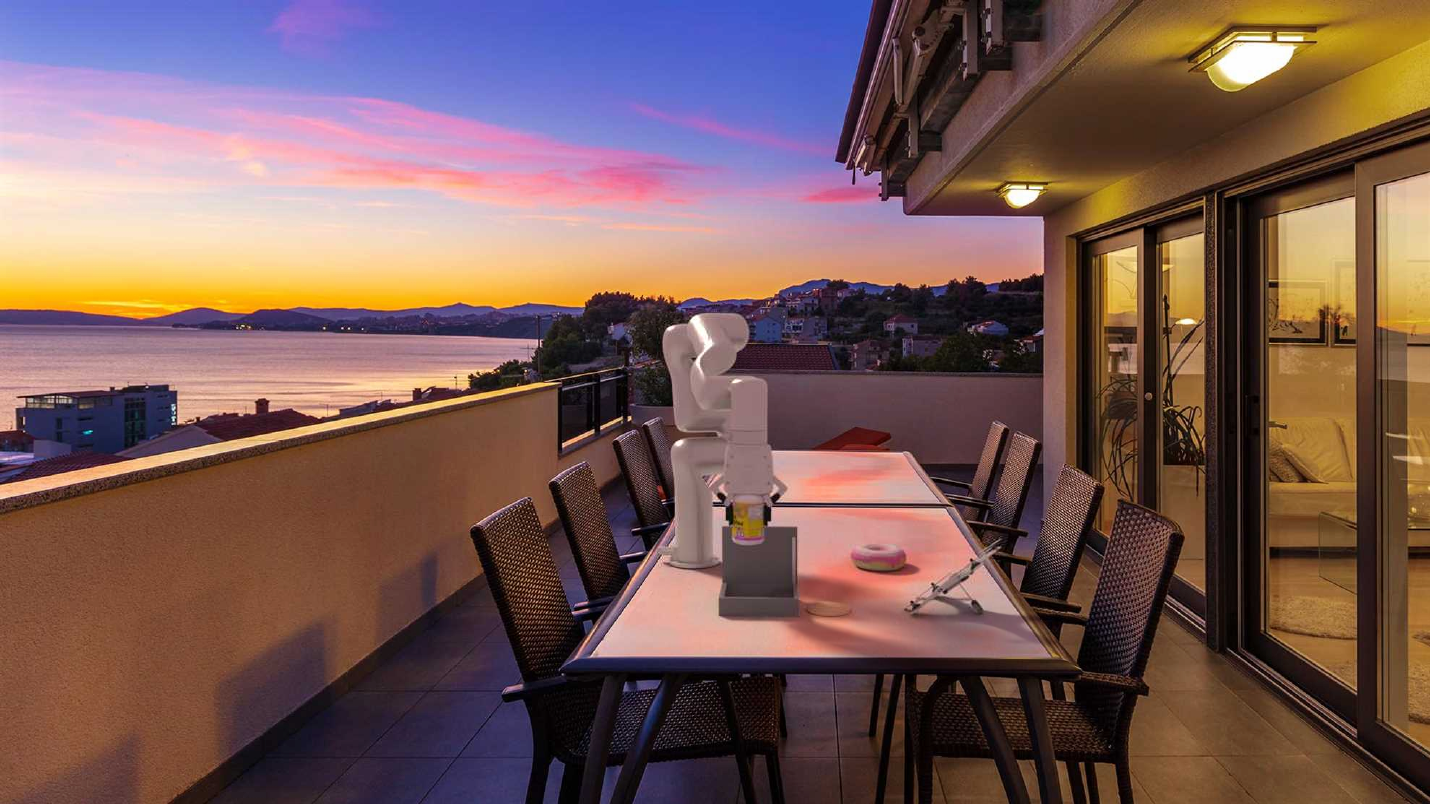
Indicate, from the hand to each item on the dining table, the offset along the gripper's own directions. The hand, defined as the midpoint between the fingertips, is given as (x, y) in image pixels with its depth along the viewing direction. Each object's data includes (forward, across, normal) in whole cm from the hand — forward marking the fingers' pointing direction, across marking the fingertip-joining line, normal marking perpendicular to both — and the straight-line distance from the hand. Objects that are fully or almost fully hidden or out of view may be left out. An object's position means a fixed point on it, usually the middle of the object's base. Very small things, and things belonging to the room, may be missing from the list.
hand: (748, 524), depth 171 cm
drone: (+17, +42, 0) cm, 45 cm away
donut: (+18, +31, +35) cm, 50 cm away
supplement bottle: (+4, 0, 0) cm, 4 cm away
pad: (+17, +16, -2) cm, 24 cm away
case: (+17, +2, -1) cm, 17 cm away
